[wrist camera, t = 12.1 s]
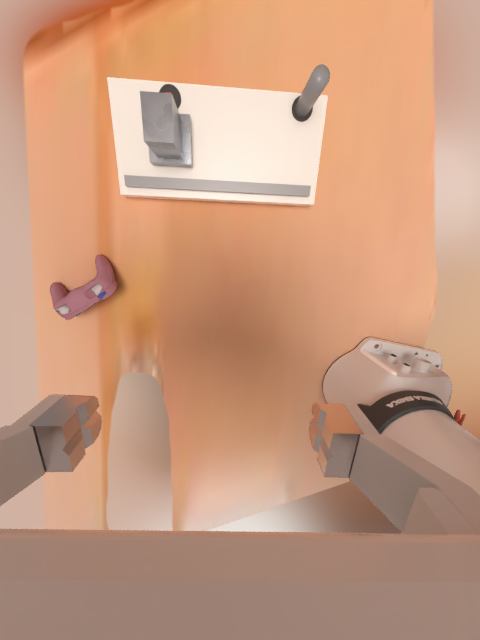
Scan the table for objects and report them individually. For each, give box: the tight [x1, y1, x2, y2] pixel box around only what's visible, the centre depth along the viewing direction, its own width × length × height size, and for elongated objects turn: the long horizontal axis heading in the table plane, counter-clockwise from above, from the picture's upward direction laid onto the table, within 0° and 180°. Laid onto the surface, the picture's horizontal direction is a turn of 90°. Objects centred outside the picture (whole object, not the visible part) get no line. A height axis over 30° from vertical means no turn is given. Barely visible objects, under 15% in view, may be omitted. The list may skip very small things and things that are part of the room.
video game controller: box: [50, 255, 117, 320], centre depth 34 cm, size 10×5×7 cm, turn 119°
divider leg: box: [140, 91, 193, 167], centre depth 25 cm, size 5×7×6 cm
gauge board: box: [107, 65, 330, 207], centre depth 27 cm, size 26×12×8 cm, turn 88°
